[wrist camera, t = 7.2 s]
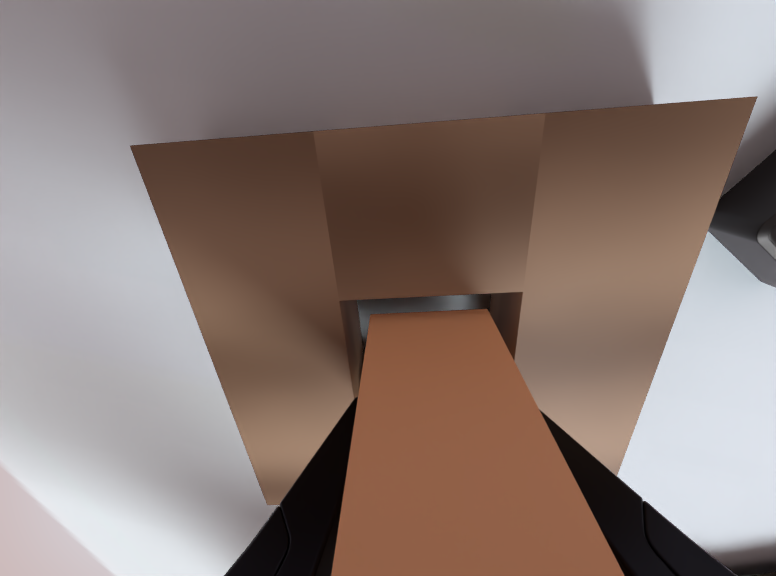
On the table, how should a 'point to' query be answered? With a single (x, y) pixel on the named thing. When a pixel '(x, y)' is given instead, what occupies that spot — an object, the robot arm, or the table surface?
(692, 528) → the table surface
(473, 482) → the peg
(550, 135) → the socket block
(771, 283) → the multiport hub
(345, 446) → the robot arm
